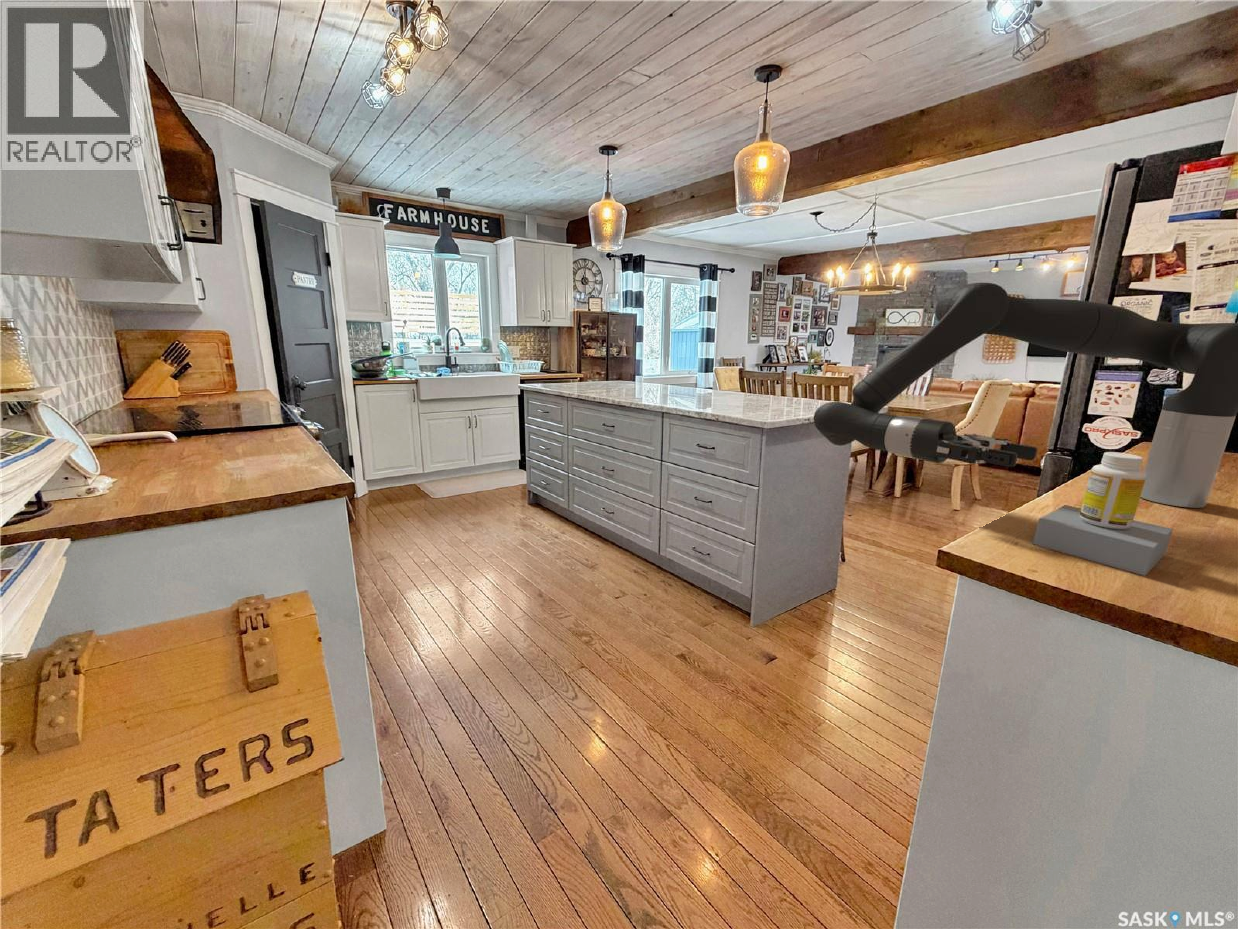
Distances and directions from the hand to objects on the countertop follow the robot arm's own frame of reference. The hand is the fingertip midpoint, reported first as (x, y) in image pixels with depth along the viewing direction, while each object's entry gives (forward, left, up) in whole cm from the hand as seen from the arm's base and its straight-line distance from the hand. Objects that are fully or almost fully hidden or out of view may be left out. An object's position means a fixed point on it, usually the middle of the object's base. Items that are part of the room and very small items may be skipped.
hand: (1026, 457), depth 79 cm
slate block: (0, +11, -12) cm, 16 cm away
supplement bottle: (0, +11, -8) cm, 13 cm away
